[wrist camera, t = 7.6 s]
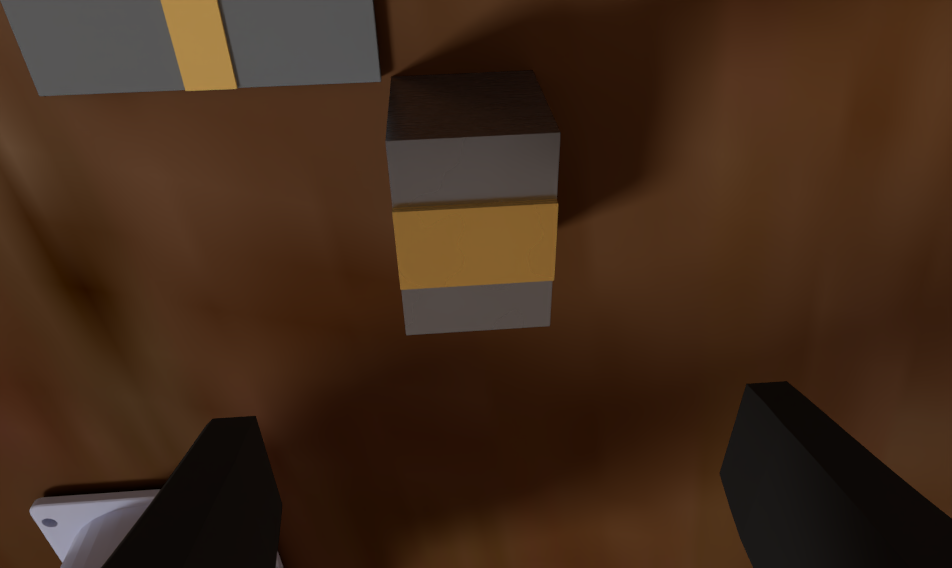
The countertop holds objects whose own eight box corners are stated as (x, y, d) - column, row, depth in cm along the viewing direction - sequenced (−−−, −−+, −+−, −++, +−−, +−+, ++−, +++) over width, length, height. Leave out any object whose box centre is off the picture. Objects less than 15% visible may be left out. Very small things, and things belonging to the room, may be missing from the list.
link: (527, 239, 20) (550, 331, 16) (407, 246, 19) (406, 340, 16) (532, 69, 17) (562, 136, 13) (391, 75, 17) (385, 145, 13)
